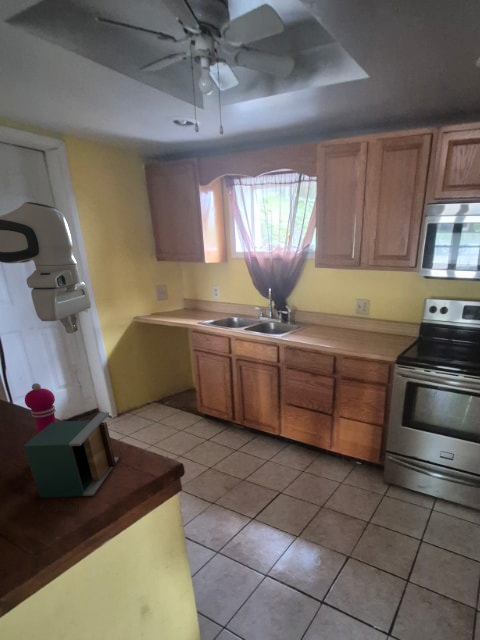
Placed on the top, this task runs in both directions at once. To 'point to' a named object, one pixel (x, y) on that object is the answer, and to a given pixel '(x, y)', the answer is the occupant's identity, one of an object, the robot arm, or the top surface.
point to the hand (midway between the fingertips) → (72, 332)
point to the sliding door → (99, 451)
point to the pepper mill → (41, 406)
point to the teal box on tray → (64, 459)
